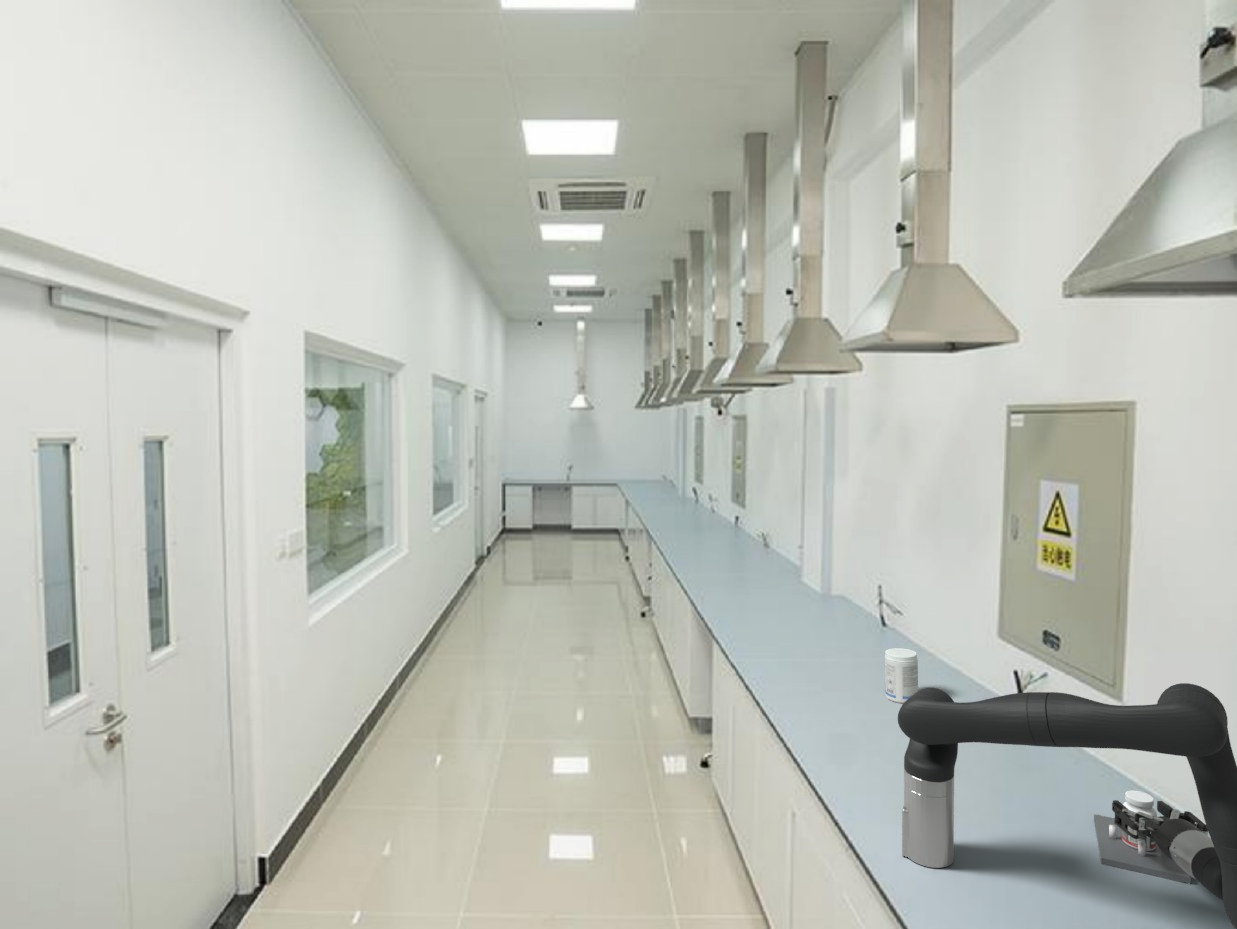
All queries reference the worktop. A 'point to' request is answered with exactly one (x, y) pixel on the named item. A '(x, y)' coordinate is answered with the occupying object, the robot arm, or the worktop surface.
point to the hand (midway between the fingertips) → (1136, 804)
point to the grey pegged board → (1133, 853)
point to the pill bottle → (1145, 805)
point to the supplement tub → (900, 674)
